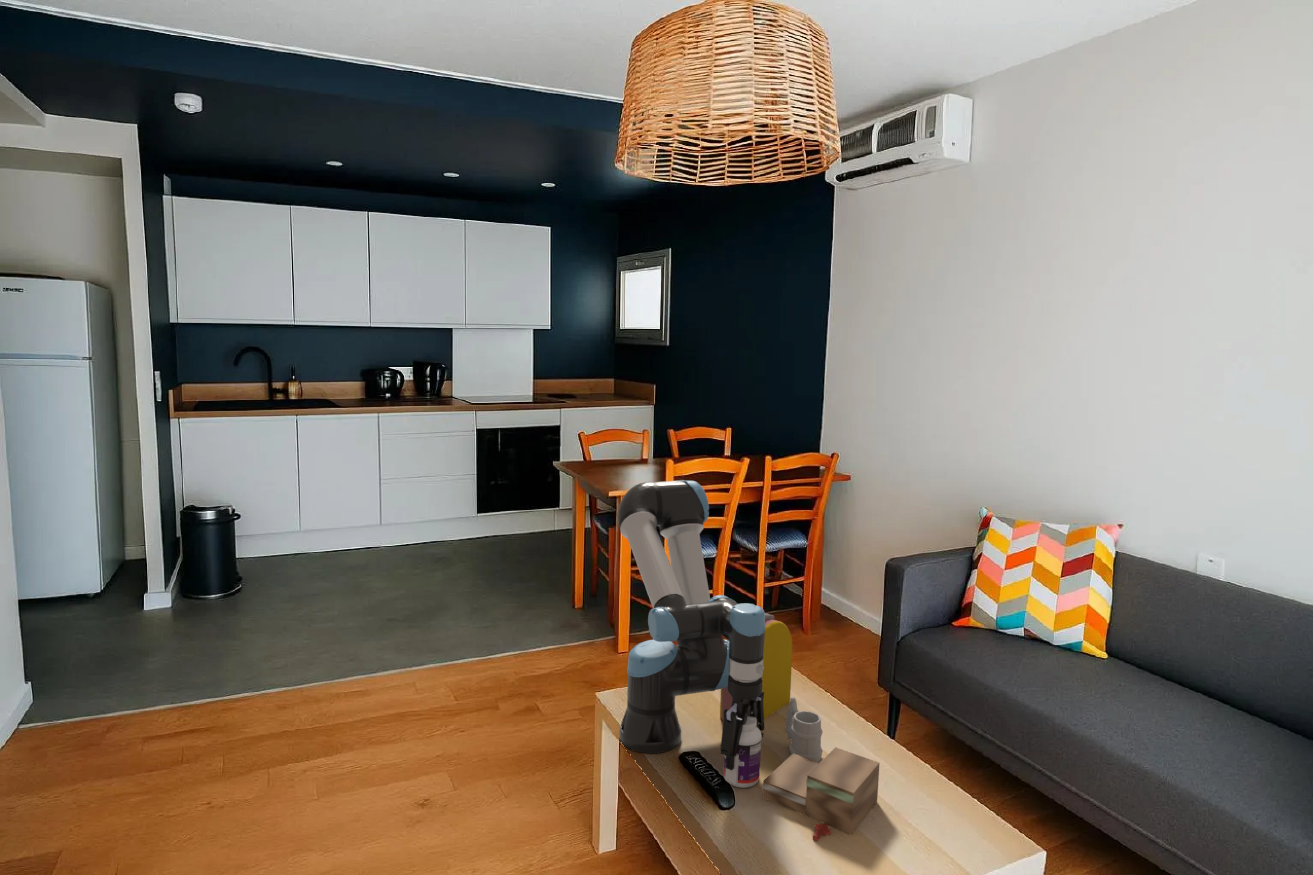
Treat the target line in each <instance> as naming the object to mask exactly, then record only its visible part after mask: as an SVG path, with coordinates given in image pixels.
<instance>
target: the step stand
mask: <svg viewBox="0 0 1313 875" xmlns="http://www.w3.org/2000/svg"><path fill="white" fill-rule="evenodd" d="M879 776H880V762H879V761H877V760H873V759H869V758H867V757H865V756H862V755H858V754H856V753H853V752H852V751H848V750H845V749H841V748H839V747H837V746H835V747H834V748H833V749H832V750H831V751H830V752H829V753H828V754H827V755H826V756H825V757H823V759H822V760H820V761H819V762H816V761H813V760H810V759H808V758H805V757H802V756H799V755H797V754H794V753H793V754H792V755H790V756H789V757H788V758H786V759H785V760H784V761H783V762H782V763H781V764H780V765H779V766H777V767H776V769H775V770H774V771H772V772H770V774H769V775H768V776H766V777H765V778H764V779H763V780H762V799H763V800H764V799H765V800H767V801H769V802H771V803H774V804H777V805H779V806H781V807H783V808H786V809H788V810H790V811H792V812H796V813H798V814H799V815H803V816H805V817H807V818H810V819H811V820H815V821H817V822H819V823H815V824H814V829H815V833H813V834H812V840H814V841H816V842H818V841H819V840H820V839H821V838H822V837H823V836H829V835H831V832H832V831H831V829H830V828H831V827H832V828H833V829H837V830H838V831H841V832H843V833H846V834H849V835H852V834H853V833H854V832H855V831H856V829H857V828H858V827H859V826H860V824H861V823H862V822H863V821H864V820H865V819H866V817H867V815H868V814H869V813H870V811H871V810H872V809H873V808H874V807H875V805H876V804H877V803H878V795H879V793H878V791H879V781H880V780H879V779H880V778H879Z"/></svg>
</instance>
